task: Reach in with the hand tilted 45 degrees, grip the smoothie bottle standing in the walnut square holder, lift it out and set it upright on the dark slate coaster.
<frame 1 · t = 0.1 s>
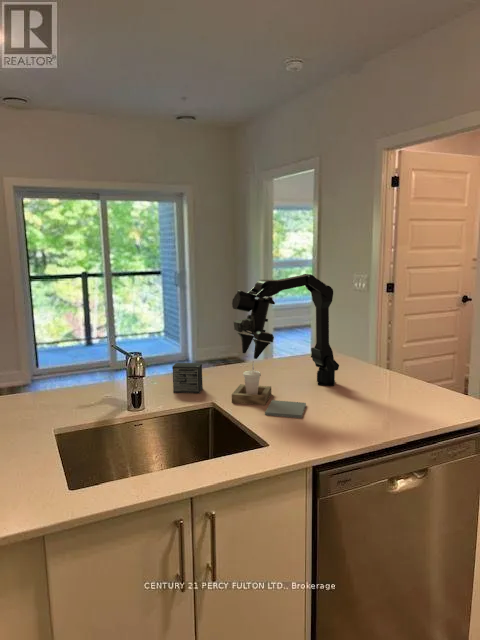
hand: (249, 355, 168), 15 cm above the worktop, tool pointing down, fingers open, 9 cm apart
small box: (188, 391, 178), on the worktop
holder: (252, 398, 168), on the worktop
coaster: (286, 410, 156), on the worktop
smoothie: (252, 398, 168), resting in holder
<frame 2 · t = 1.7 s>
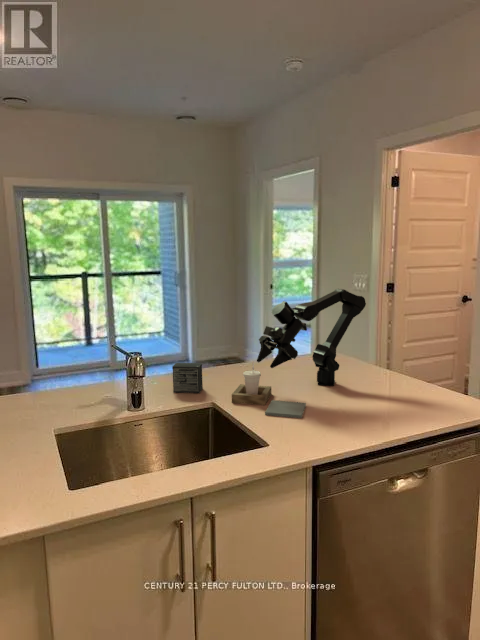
hand: (264, 364, 169), 12 cm above the worktop, tool tilted 45°, fingers open, 9 cm apart
nothing on the worktop moved.
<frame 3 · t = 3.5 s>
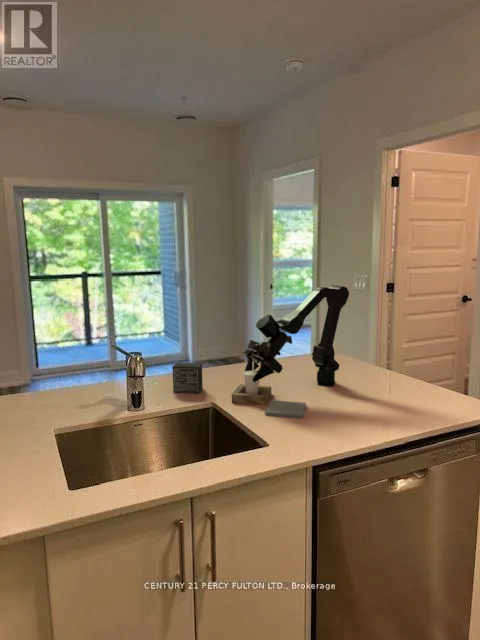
hand: (248, 378, 166), 8 cm above the worktop, tool tilted 45°, fingers closed on smoothie, 6 cm apart
smoothie: (252, 398, 168), resting in holder, touching gripper
everything else where it was.
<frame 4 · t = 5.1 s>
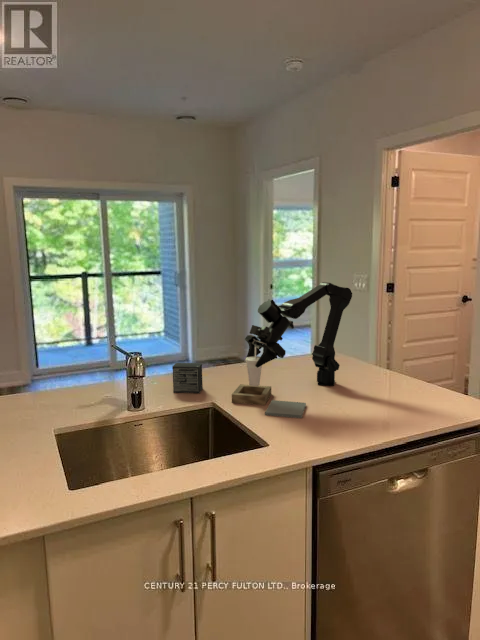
hand: (251, 364, 164), 13 cm above the worktop, tool tilted 45°, fingers closed on smoothie, 6 cm apart
smoothie: (254, 384, 166), point 5 cm above the worktop, touching gripper
everything else where it was.
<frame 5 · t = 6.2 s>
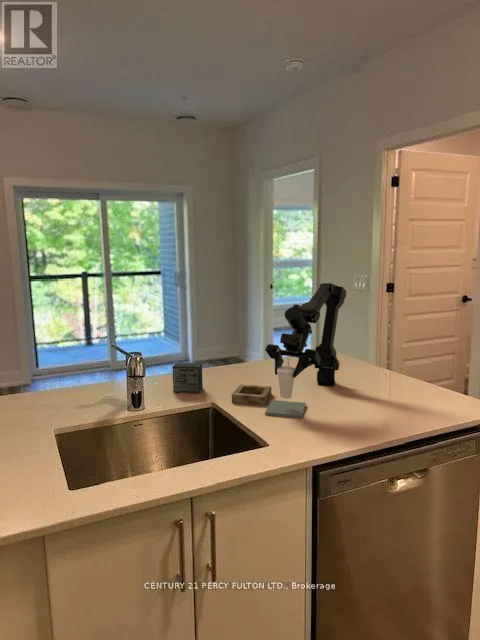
hand: (284, 375, 153), 12 cm above the worktop, tool tilted 45°, fingers closed on smoothie, 6 cm apart
smoothie: (285, 397, 156), point 5 cm above the worktop, touching gripper
everything else where it was.
when the fingers open (10 cm above the worktop, at t = 7.1 s): smoothie stays where it is, resting on coaster.
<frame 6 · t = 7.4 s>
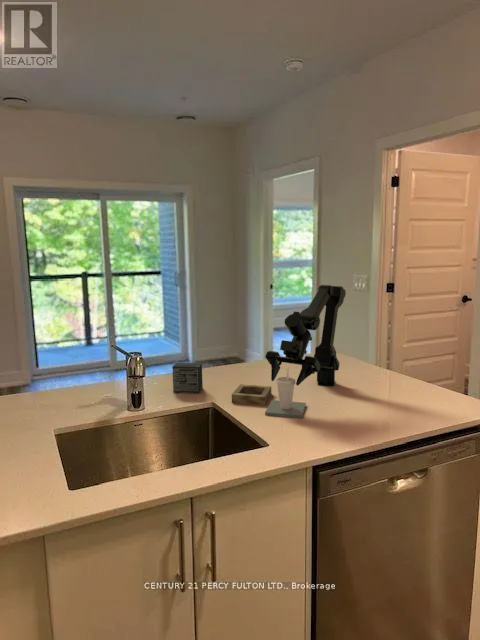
hand: (284, 382, 153), 10 cm above the worktop, tool tilted 45°, fingers open, 9 cm apart
smoothie: (285, 407, 156), point 1 cm above the worktop, touching coaster
everything else where it was.
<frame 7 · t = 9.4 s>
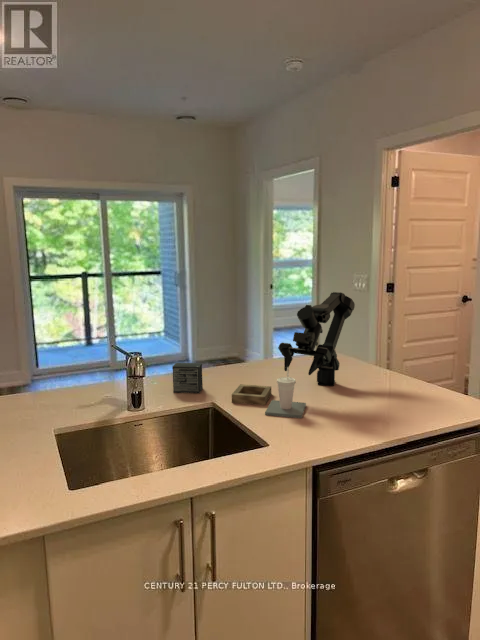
hand: (296, 372, 161), 11 cm above the worktop, tool tilted 45°, fingers open, 9 cm apart
nothing on the worktop moved.
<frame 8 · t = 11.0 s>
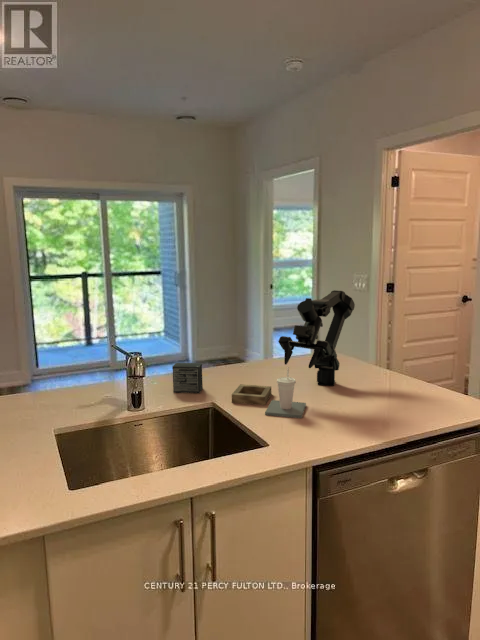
hand: (297, 365, 161), 14 cm above the worktop, tool tilted 45°, fingers open, 9 cm apart
nothing on the worktop moved.
at the end: smoothie inside the target area on the coaster (0.1 cm from its centre), point 0.8 cm above the coaster's base; smoothie tilted 0°; the gripper is holding nothing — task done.
